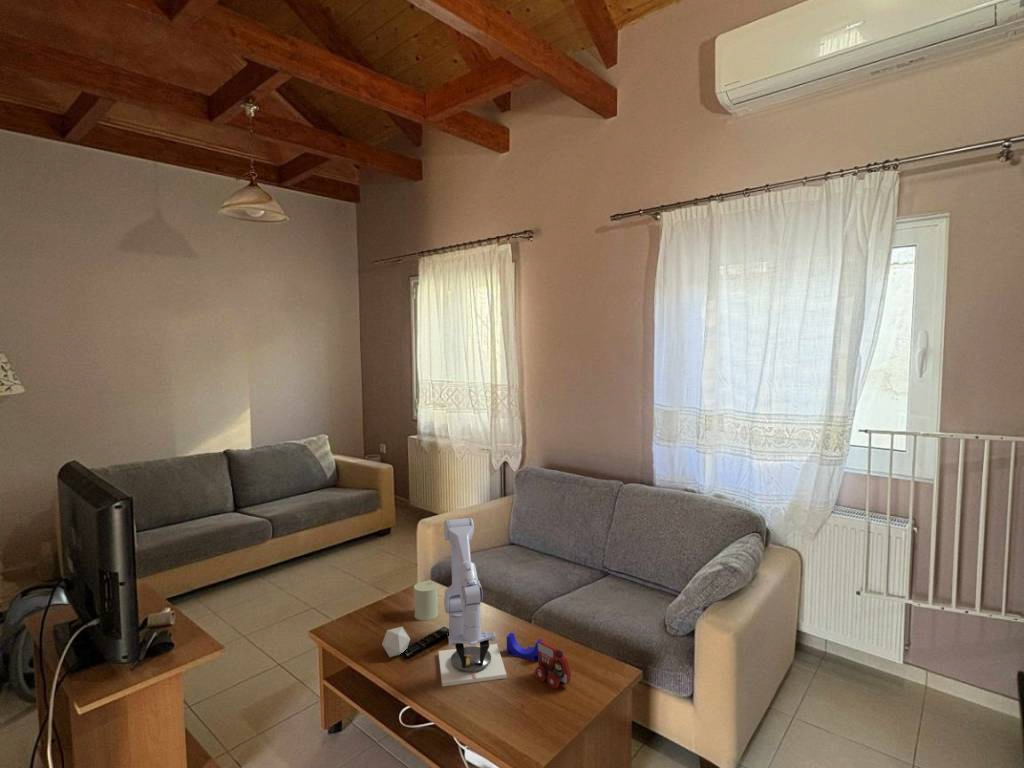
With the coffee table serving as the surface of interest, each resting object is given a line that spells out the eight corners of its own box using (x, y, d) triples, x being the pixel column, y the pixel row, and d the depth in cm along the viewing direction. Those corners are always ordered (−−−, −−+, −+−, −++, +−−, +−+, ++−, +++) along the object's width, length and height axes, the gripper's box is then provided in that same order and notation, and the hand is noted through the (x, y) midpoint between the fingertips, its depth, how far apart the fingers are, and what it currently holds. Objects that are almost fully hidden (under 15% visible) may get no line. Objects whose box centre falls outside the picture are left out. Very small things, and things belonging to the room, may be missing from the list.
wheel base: (438, 654, 179) (438, 649, 179) (496, 647, 183) (496, 642, 183) (442, 687, 161) (442, 681, 161) (506, 678, 165) (506, 673, 165)
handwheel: (456, 647, 180) (456, 636, 179) (494, 650, 178) (494, 638, 177) (446, 670, 167) (446, 657, 167) (486, 673, 165) (486, 660, 165)
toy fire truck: (561, 693, 157) (560, 659, 157) (531, 676, 166) (530, 643, 166) (576, 683, 162) (575, 650, 162) (546, 667, 171) (545, 635, 171)
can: (443, 612, 208) (442, 582, 208) (427, 622, 201) (426, 591, 200) (425, 607, 213) (424, 578, 213) (409, 616, 206) (408, 586, 205)
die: (407, 645, 186) (389, 623, 186) (419, 641, 181) (401, 618, 180) (390, 665, 180) (372, 642, 180) (403, 661, 174) (384, 637, 174)
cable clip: (544, 655, 178) (544, 637, 178) (540, 662, 174) (539, 644, 174) (512, 647, 183) (512, 630, 183) (506, 654, 179) (506, 636, 179)
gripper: (449, 631, 161) (450, 675, 162) (496, 626, 164) (497, 669, 165) (447, 620, 168) (448, 662, 169) (492, 615, 171) (493, 656, 172)
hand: (472, 664), depth 168 cm, fingers open, 5 cm apart
